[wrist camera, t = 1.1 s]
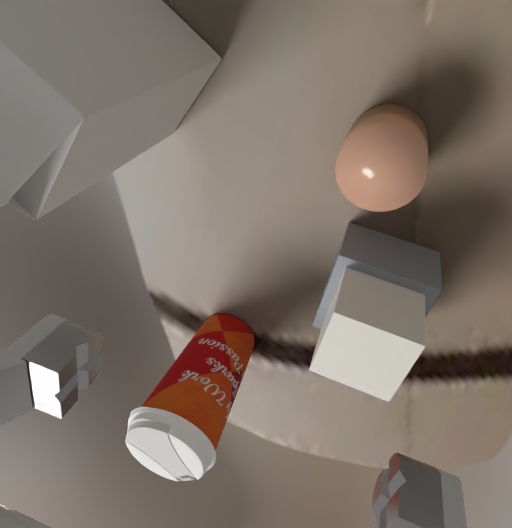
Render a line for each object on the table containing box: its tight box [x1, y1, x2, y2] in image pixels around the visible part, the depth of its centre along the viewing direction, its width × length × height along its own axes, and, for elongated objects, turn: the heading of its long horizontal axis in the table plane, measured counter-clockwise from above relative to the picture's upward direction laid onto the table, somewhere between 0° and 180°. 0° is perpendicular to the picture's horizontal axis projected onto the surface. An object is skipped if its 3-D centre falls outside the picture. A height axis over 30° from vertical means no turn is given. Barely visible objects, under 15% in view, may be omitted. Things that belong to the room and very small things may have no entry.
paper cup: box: [126, 314, 255, 481], centre depth 38 cm, size 8×8×14 cm
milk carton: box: [0, 0, 221, 220], centre depth 23 cm, size 7×7×19 cm
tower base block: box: [312, 222, 442, 329], centre depth 32 cm, size 7×7×5 cm
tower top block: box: [309, 267, 425, 402], centre depth 28 cm, size 6×6×5 cm
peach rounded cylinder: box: [335, 104, 428, 212], centre depth 27 cm, size 5×5×5 cm
